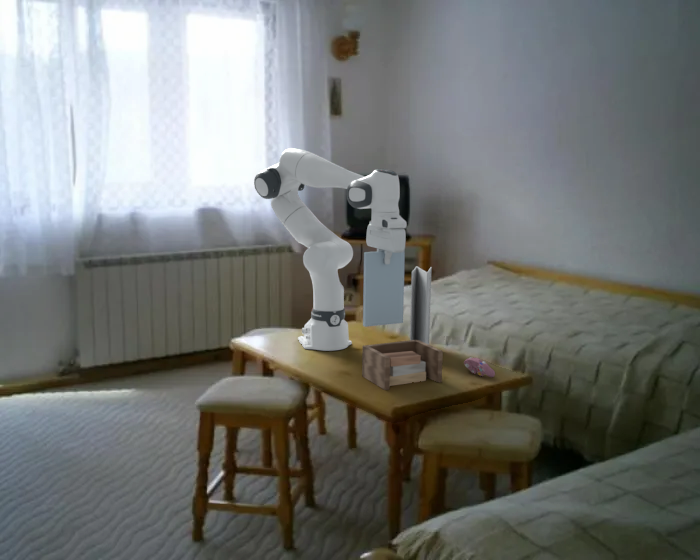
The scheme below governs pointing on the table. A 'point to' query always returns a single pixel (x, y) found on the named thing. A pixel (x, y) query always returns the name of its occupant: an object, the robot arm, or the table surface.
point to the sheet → (383, 289)
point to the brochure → (420, 305)
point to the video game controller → (479, 367)
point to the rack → (379, 363)
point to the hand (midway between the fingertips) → (384, 263)
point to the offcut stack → (406, 368)
